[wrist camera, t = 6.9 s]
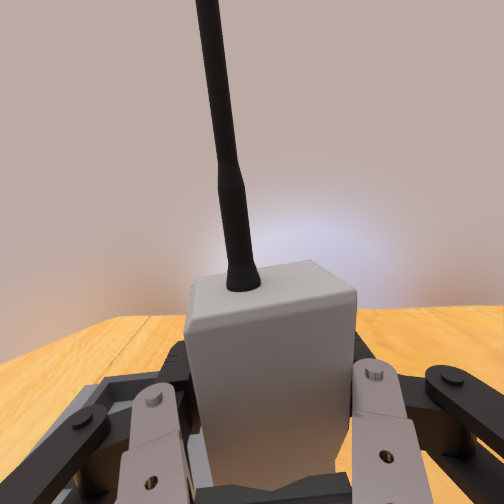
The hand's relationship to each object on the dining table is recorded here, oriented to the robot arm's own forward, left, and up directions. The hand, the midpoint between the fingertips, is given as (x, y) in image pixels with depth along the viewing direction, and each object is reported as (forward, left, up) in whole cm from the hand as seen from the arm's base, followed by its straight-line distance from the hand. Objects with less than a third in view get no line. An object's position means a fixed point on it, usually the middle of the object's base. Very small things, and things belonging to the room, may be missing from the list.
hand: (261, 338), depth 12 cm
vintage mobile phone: (0, +3, -13) cm, 13 cm away
